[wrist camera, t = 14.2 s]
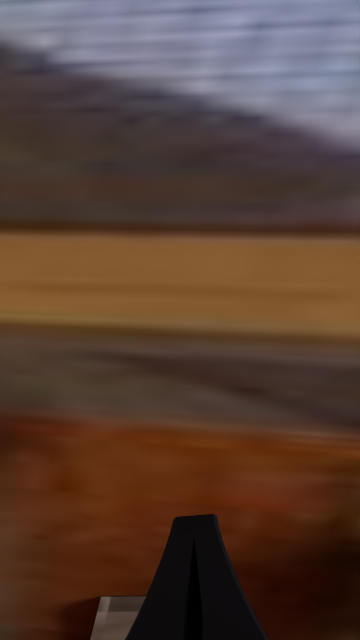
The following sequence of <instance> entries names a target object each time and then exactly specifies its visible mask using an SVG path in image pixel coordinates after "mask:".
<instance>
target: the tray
mask: <svg viewBox="0 0 360 640" xmlns="http://www.w3.org/2000/svg"><path fill="white" fill-rule="evenodd" d="M145 597H146V596H121V597H101V599H100V603H99V607H98V611H97V615H96V619H95V623H94V627H93V631H92V635H91V639H90V640H125V638H126V637H127V635H128V633H129V631H130V629H131V627H132V625H133V623H134V621H135V619H136V617H137V615H138V613H139V611H140V608H141V606H142V604H143V602H144V600H145Z"/></svg>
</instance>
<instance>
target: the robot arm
mask: <svg viewBox="0 0 360 640" xmlns="http://www.w3.org/2000/svg"><path fill="white" fill-rule="evenodd" d="M125 640H268V638H267V636H266V634H265V632H264V631H263V629H262V627H261V625H260V623H259V621H258V620H257V618H256V616H255V614H254V612H253V610H252V608H251V606H250V604H249V602H248V600H247V598H246V596H245V594H244V592H243V589H242V587H241V585H240V583H239V581H238V578H237V576H236V574H235V571H234V569H233V567H232V564H231V562H230V559H229V557H228V554H227V552H226V549H225V546H224V543H223V540H222V537H221V533H220V530H219V525H218V520H217V516H215V515H214V514H207V515H194V516H182V517H176V518H175V519H174V520H173V524H172V528H171V531H170V535H169V538H168V541H167V545H166V547H165V550H164V553H163V556H162V559H161V561H160V564H159V566H158V569H157V572H156V574H155V577H154V579H153V582H152V584H151V586H150V589H149V591H148V593H147V595H146V597H145V600H144V602H143V604H142V606H141V608H140V611H139V613H138V615H137V617H136V619H135V621H134V623H133V625H132V627H131V629H130V631H129V633H128V635H127V637H126V638H125Z"/></svg>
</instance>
